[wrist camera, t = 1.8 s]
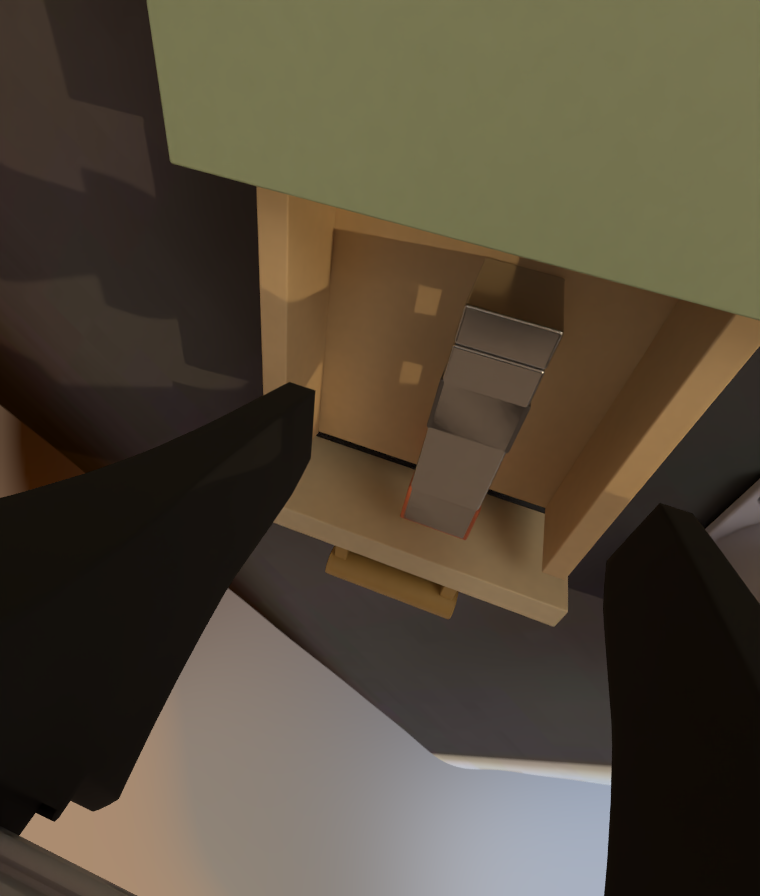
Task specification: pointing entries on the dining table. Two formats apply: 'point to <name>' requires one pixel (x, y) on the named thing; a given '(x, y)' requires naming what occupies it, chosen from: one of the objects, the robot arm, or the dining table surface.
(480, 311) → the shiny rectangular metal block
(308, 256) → the drawer
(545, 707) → the dining table surface
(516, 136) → the cabinet
